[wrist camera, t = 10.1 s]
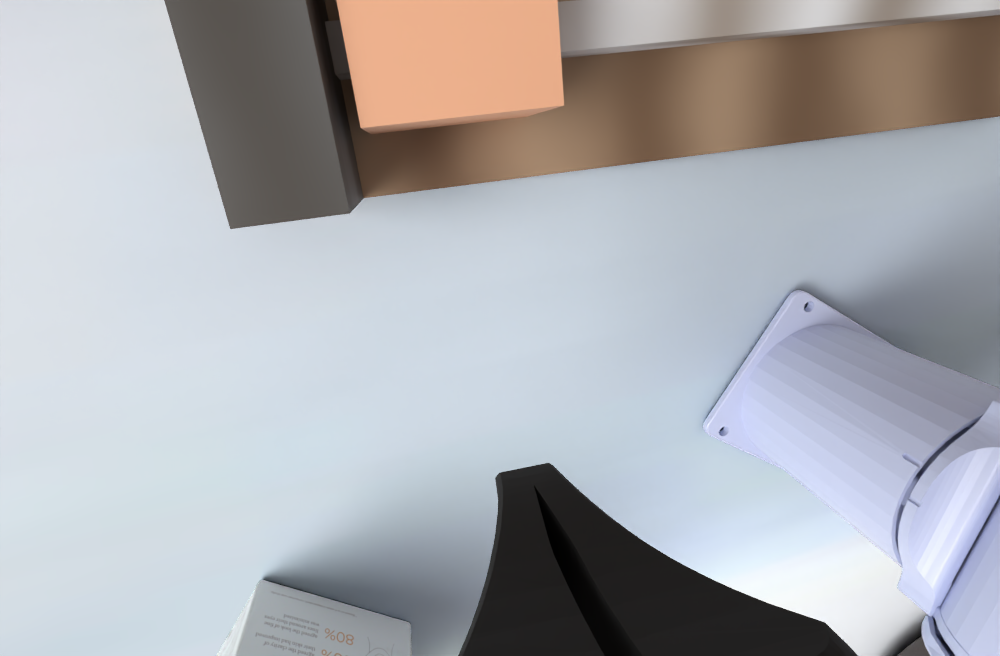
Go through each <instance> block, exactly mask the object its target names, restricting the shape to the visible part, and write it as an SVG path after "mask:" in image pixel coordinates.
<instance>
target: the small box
mask: <svg viewBox="0 0 1000 656" xmlns="http://www.w3.org/2000/svg"><path fill="white" fill-rule="evenodd" d="M216 656H412V647H411V624H410V623H409V622H406V621H403V620H399V619H396V618H392V617H389V616H385V615H382V614H378V613H375V612H372V611H368V610H365V609H361V608H358V607H355V606H351V605H348V604H344V603H341V602H338V601H334V600H331V599H328V598H324V597H321V596H317V595H314V594H310V593H307V592H303V591H299V590H296V589H293V588H289V587H286V586H282V585H279V584H276V583H272V582H269V581H265V580H260V581H259V582H258V583H257V585H256V587H255V589H254V591H253V593H252V594H251V596H250V598H249V599H248V601H247V603H246V605H245V606H244V608H243V610H242V612H241V613H240V615H239V617H238V619H237V620H236V622H235V624H234V626H233V627H232V629H231V631H230V632H229V634H228V636H227V638H226V639H225V641H224V643H223V645H222V646H221V648H220V650H219V652H218V653H217V655H216Z"/></svg>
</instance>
